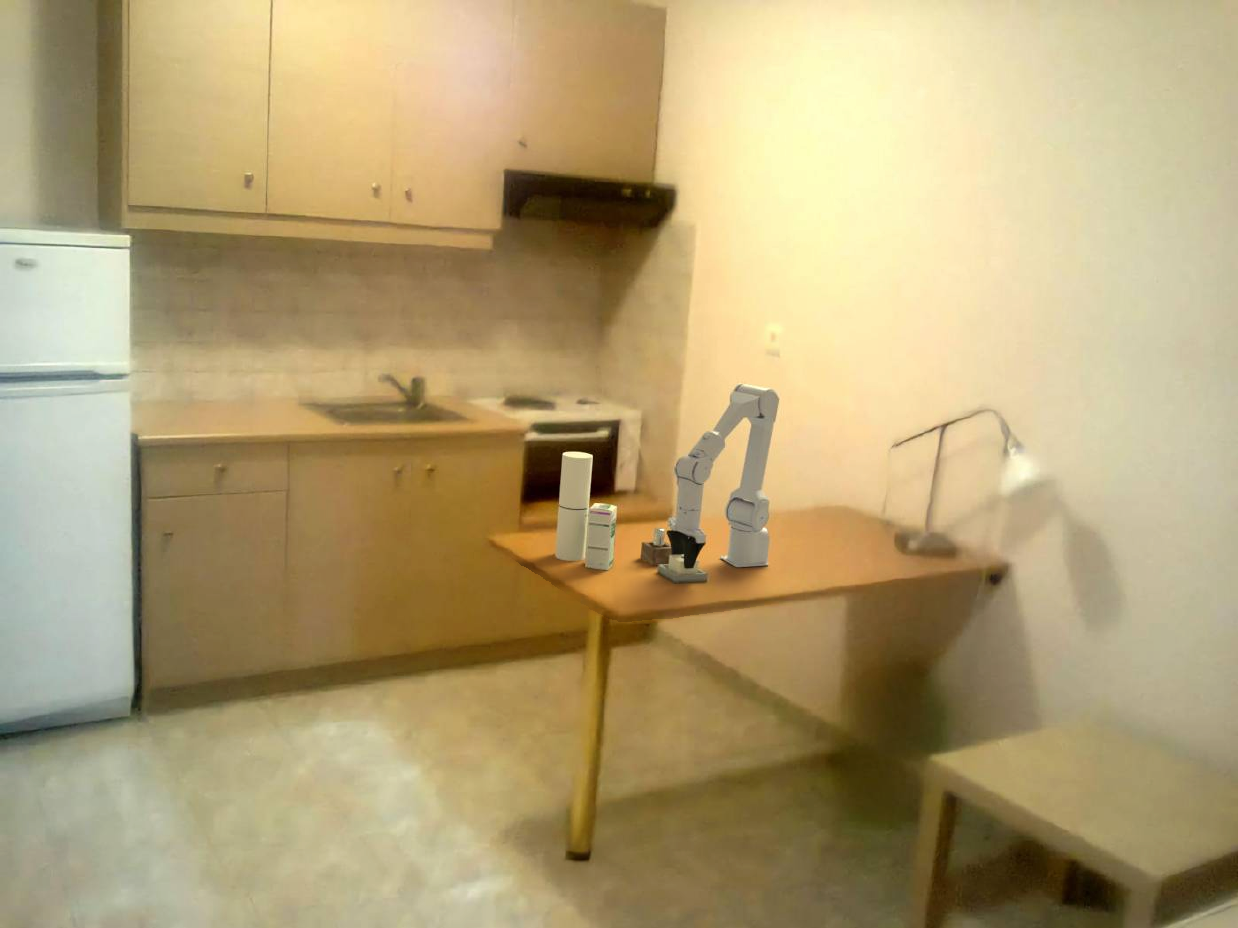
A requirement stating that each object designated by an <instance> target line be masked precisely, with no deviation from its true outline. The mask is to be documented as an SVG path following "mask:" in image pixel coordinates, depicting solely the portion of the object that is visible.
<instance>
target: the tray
mask: <svg viewBox="0 0 1238 928" xmlns="http://www.w3.org/2000/svg"><path fill="white" fill-rule="evenodd" d="M668 566H669V564H660V565H657V573H658V574H660V575H662V576H663V577H664V578H666V579H668V580H669V581H670V582H672V583H673V584H684V583H685V584H686V583H697V582H700V583H701V582H708V573H707V572H705V570H703V569H701V568H699V567H698V573H693V574H678V575H677V574H675V573H674V572H672V571H670V570H669V569H668Z"/></svg>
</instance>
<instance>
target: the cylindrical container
mask: <svg viewBox="0 0 1238 928" xmlns="http://www.w3.org/2000/svg"><path fill="white" fill-rule="evenodd" d="M593 458H594V457H593V454H590V453H587V452H582V451H565V452H563V453H562V457H561V470H560V471H561V472H560V484H559V498H558V510H557V512H558V513H557V522H556V523H557V525H556V536H555V537H556V540H555V542H556V543H555V549H554V550H555V553H554V557H555V558H556V559H559V560H561V561H567V562H579V561H583V560H585V559H584V558H586V542H587V526H588V511H589V508H590V497H591V494H590V493H591V484H592V471H593V460H594V459H593Z"/></svg>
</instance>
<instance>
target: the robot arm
mask: <svg viewBox="0 0 1238 928" xmlns="http://www.w3.org/2000/svg"><path fill="white" fill-rule="evenodd" d="M779 404H780V397H779V395H778V394H777V392H776V390H774V389H773V388H767V387H763V386H762V387H761V386H756V385H750V384H746V383H744V382H741V383H738V384H737V385H736V386H735V387H734V389H733V391H732V392H731V393H730V395H729V405H728V406H727V408H726V409H725V411H724V412H723V414H722V416H721V417H720V419H719V420H718V421H717V423H716V425H715V427H713V430H708V431H705V432H704V433H703V434H702V436H701V437H700V438H699V439H698V441H697V442H696V443H695V445H693V447H692V449H691V450H690V452H688V454H685V455H682V456H681V457H679V459H678V460H677V461H676V464H675V466H674V468H673V470H674V475H675V477H676V482H675V483H676V484H677V485H676V486H677V496H676V507H675V517H669V518H668V520H667V527H669V529H670V530H666V531H665V534H666V535H667V538H668V540H669V541H668V542H669V544H670V545H671V549H672V555H678V554H684V568H685V569H690V568H693V567H694V565H695V562H696V559H698V558H699V557H698V556H699V555H700V552H701V551H702V549H703V548H704V547H705V545H706V543H707V541H706V538H707V534H706V533H704V531H703V529H702V528H701V526H700V523H701V514H702V502H703V493H704V484H705V482H707V481H708V480H709V478H710V476H711V473H712V469H713V467H714V462H715V461H716V459H718V457H720V454H721V453H722V452H723V451H724V449H725V448H726V441H725V439H727V437H729V435H730V434H731V433H732V432H733V431H734V429H736V427H737V426H738V425H739V424H740V423H741V422H742V421H743V420H744V419H745V418H747V420H748V421H749V423H750V430H749V434H748V439H747V440H748V441H747V445H746V446H747V447H746V451H745V457H744V462H743V468H742V473H741V478H740V485H739V487H737V488H736V489H735V490H733V491H731V492H730V495H729V499H728V501H727V503H726V505H725V509H724V515H725V520H727V521H728V526H730V529H729V531H730V532H729V537H728V538H729V540H728V548H727V555H721V556H720V559H721V560H724V561H725V562H727V563H728V564H730V565H731V566H733V567H735V568H745V567H760V566H762V567H763V566H769V564H770V563H769V562H768V556H769V548H770V535H769V532H768V531H769V530H767V528H766V526H767V524H768V522H769V520H770V510H769V506H770V500H769V498H768V497H767V496H766V494H765V493H764V492H763V490H762V489H763V484H764V479H765V474H766V468H767V463H768V459H769V458H768V457H769V452H770V447H771V443H772V442H771V440H772V436H773V431H774V426H775V425H774V424H775V422H776V419H777V414H778V409H779Z"/></svg>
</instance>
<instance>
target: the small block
mask: <svg viewBox="0 0 1238 928" xmlns="http://www.w3.org/2000/svg"><path fill="white" fill-rule="evenodd" d="M699 561H700V559H698V558H697V559H696V562H695V565H694V567H693V568H690V569H685V568H684V554H678V555H670V556H669V566H668V569H669V570H670V571H672V572H674V573H675V574H677V575H678V574H693V573H698V568H699Z"/></svg>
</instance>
